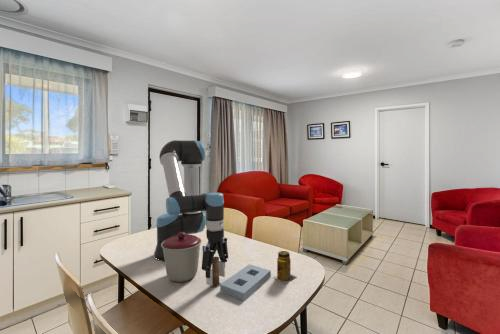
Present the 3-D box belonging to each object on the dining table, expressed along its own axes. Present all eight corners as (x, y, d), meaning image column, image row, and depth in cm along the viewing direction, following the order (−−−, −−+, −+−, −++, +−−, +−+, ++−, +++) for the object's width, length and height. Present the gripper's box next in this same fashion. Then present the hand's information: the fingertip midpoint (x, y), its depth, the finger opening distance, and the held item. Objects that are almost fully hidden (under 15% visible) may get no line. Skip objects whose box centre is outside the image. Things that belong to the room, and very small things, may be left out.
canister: (155, 286, 106) (153, 239, 105) (170, 267, 124) (169, 226, 123) (196, 287, 106) (195, 239, 104) (205, 267, 124) (205, 226, 122)
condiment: (273, 278, 113) (273, 252, 113) (284, 271, 119) (284, 247, 118) (285, 284, 108) (285, 257, 107) (297, 277, 114) (297, 252, 113)
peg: (211, 285, 107) (210, 258, 107) (215, 282, 110) (215, 256, 109) (216, 287, 106) (215, 260, 105) (220, 284, 108) (220, 257, 107)
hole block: (220, 291, 103) (220, 284, 102) (249, 270, 121) (249, 264, 121) (243, 300, 96) (243, 293, 96) (270, 276, 114) (270, 270, 114)
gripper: (205, 237, 96) (205, 293, 97) (236, 224, 113) (236, 272, 114) (191, 233, 100) (192, 288, 101) (223, 221, 117) (224, 268, 118)
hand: (215, 279), depth 108 cm, fingers open, 8 cm apart
